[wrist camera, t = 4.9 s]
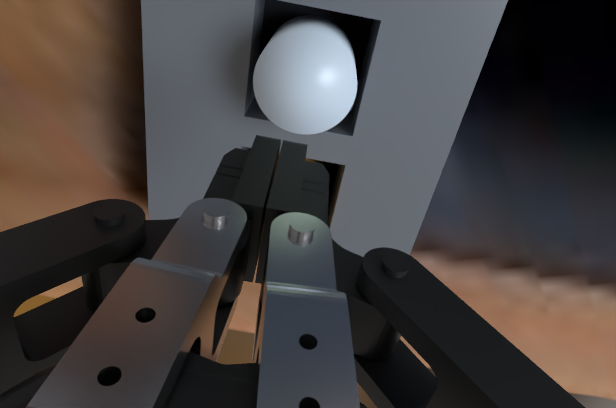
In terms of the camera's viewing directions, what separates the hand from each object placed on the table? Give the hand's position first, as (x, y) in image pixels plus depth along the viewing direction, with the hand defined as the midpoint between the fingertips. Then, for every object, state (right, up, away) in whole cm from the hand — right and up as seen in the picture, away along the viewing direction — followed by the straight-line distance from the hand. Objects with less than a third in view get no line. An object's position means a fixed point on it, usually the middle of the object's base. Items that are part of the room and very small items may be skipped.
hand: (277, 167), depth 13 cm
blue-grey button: (+1, +5, +7) cm, 9 cm away
